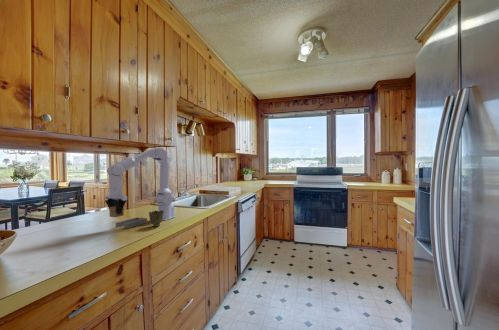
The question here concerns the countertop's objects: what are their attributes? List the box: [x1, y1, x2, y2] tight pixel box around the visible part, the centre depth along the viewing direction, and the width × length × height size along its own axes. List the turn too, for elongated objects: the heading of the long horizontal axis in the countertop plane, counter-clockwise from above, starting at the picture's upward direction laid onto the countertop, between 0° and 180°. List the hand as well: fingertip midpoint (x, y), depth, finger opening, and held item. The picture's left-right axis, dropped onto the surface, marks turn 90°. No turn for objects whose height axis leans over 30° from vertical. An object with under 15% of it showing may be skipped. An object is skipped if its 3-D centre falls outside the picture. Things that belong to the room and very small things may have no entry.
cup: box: [148, 209, 164, 228], centre depth 120 cm, size 8×7×8 cm
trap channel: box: [115, 216, 148, 230], centre depth 123 cm, size 14×8×2 cm, turn 157°
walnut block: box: [109, 206, 125, 218], centre depth 114 cm, size 4×4×5 cm
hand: (116, 213), depth 114 cm, fingers closed on walnut block, 4 cm apart
